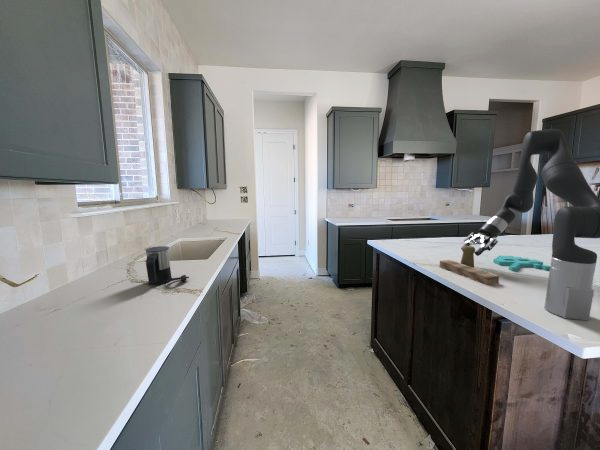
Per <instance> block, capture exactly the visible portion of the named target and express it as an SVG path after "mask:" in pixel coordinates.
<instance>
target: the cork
mask: <svg viewBox="0 0 600 450" xmlns="http://www.w3.org/2000/svg"><path fill="white" fill-rule="evenodd" d="M462 246H463V245H462ZM461 251H462V255H461V259H460V260H461V261H460V263H461V264H464V265H467V266H470V267H473V268H475V257H474V254H475V252H476V248H475V246H472V245H470V246H463V248H462V249H461Z"/></svg>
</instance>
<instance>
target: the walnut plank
mask: <svg viewBox="0 0 600 450" xmlns="http://www.w3.org/2000/svg"><path fill="white" fill-rule="evenodd" d="M439 268H442V269H444V270H447V271H448V272H449V271H450V272H452V273H454V274H458V275H460V276H463V277H465V278H468V279H471V280H474V281H477V282H478V283H481V284H484V285H487V286H488V285H489V286H490V285H496V284H499V281H500V275H497V274H494V273H491V272H488V271H485V270H481V269H479V268H476V267H474V268H473V267H470V266H467V265H464V264H461V262H457V261H454V260H452V259H446V260H445V259H444V260H439Z"/></svg>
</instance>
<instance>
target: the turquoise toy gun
mask: <svg viewBox="0 0 600 450" xmlns="http://www.w3.org/2000/svg"><path fill="white" fill-rule="evenodd" d="M492 262H494V264H496V265H498V266H508V270H509V271H511V272H518V270H520V269H521V268H534V269H540V270H543V271H550V266H549V265H547V264H544V261H540V260H538V259H531V258H528V257H527V258H526V257H524V258H523V257H521V256H514V255H498V256H496V257H495V258H494V259H493V261H492Z"/></svg>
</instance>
